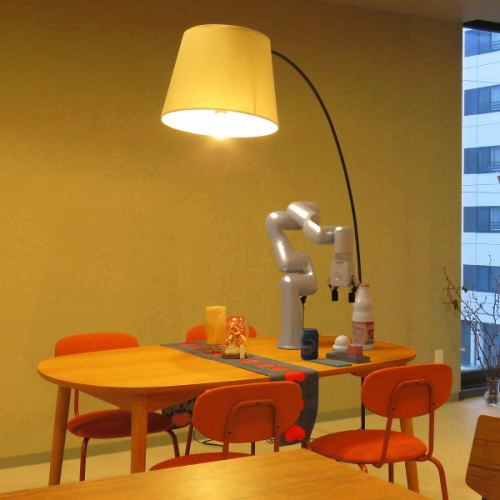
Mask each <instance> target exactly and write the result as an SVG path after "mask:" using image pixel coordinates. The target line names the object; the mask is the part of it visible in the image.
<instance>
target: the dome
mask: <svg viewBox="0 0 500 500" xmlns="http://www.w3.org/2000/svg"><path fill="white" fill-rule="evenodd" d="M348 345H351V340H350V338H349V337H347V336H346V335H344V334H343V335H339V336H337V337H336V338H335V340H334V344H333V345H332V352H347V353H348Z"/></svg>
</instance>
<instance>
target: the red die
mask: <svg viewBox="0 0 500 500" xmlns="http://www.w3.org/2000/svg"><path fill="white" fill-rule="evenodd" d="M347 353H348V356H352V357H361V356H363V355H364V350H363V346H360V345H352V343H350V345H348V352H347Z"/></svg>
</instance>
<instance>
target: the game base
mask: <svg viewBox="0 0 500 500" xmlns="http://www.w3.org/2000/svg"><path fill="white" fill-rule="evenodd" d="M328 358H329V360H334V361H340V362H345V363H350V364H364V363H370V362H371V356H369V355H364V354H363V356H361V357H352V356H348V352H335V351H331V352H325V359H328Z"/></svg>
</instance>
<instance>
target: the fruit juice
mask: <svg viewBox="0 0 500 500" xmlns="http://www.w3.org/2000/svg"><path fill="white" fill-rule="evenodd" d="M369 288H370V283H360V285H359V288H358V289H357V294H356V296H355V303H352V308H353V312H352V314H351V315H352V316H351V344H352V345H360V346H363V351H371V350H373V349H374V347H375V343H374V342H375V339H374V338H375V314H374V307H375V302H374V300H373V299H372V297H371V295H370V291H369Z"/></svg>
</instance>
